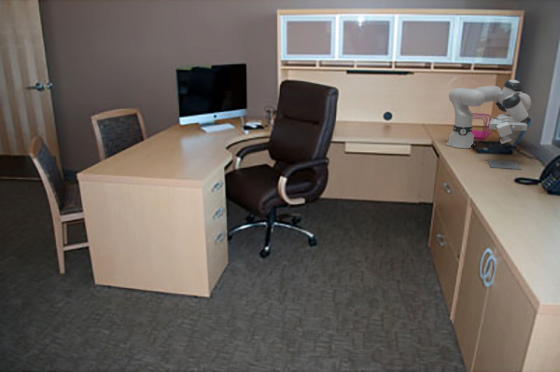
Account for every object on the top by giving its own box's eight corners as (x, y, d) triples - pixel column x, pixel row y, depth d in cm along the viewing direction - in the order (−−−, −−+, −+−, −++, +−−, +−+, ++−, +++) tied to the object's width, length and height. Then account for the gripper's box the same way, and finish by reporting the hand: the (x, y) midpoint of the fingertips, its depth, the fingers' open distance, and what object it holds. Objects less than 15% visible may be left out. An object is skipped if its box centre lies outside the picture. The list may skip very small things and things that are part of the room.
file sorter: (458, 137, 337) (461, 116, 332) (466, 131, 356) (468, 111, 351) (483, 140, 327) (486, 118, 322) (490, 134, 347) (492, 113, 342)
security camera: (514, 139, 256) (509, 123, 253) (501, 144, 259) (496, 128, 256) (512, 136, 261) (507, 121, 259) (499, 141, 264) (494, 125, 262)
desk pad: (487, 160, 274) (487, 159, 274) (516, 162, 270) (516, 161, 269) (490, 167, 260) (490, 166, 259) (521, 169, 255) (521, 169, 255)
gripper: (524, 130, 267) (528, 135, 255) (486, 128, 273) (489, 133, 261) (525, 119, 265) (530, 124, 253) (488, 118, 271) (491, 122, 259)
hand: (509, 128), depth 257 cm, fingers closed on security camera
